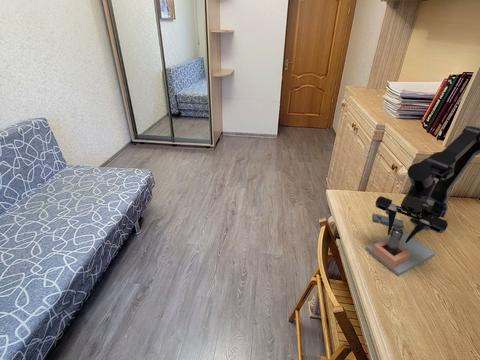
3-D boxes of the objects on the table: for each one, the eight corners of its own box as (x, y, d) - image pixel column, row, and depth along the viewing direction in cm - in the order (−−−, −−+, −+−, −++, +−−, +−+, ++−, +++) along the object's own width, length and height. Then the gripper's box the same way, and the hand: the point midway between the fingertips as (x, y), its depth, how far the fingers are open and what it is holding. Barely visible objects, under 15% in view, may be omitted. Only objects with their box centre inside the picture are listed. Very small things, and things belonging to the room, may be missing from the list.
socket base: (401, 232, 95) (405, 223, 93) (434, 255, 86) (440, 246, 84) (364, 249, 87) (368, 240, 85) (397, 276, 78) (402, 266, 76)
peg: (387, 250, 86) (396, 226, 81) (396, 256, 83) (405, 232, 79) (381, 253, 84) (390, 229, 80) (390, 259, 82) (399, 235, 77)
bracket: (402, 230, 97) (404, 226, 96) (372, 222, 100) (373, 218, 99) (400, 223, 100) (402, 219, 99) (371, 216, 103) (373, 212, 102)
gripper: (387, 173, 78) (364, 219, 77) (462, 198, 68) (438, 251, 67) (386, 185, 88) (365, 226, 86) (452, 209, 78) (430, 255, 76)
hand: (396, 238), depth 79 cm, fingers open, 5 cm apart
